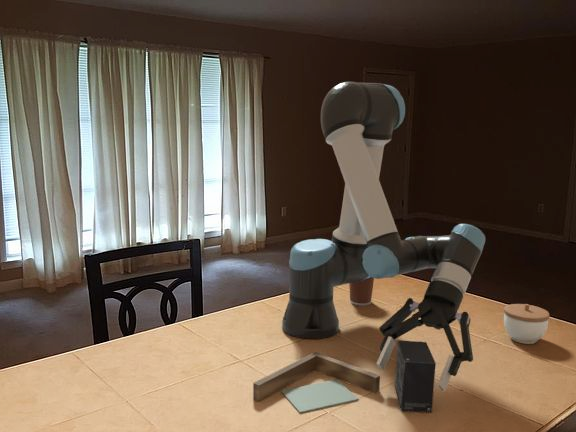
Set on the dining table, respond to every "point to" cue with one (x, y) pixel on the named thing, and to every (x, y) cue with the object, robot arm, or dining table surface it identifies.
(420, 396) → the small box
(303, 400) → the pad
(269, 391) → the walnut corner fence
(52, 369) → the dining table surface
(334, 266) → the robot arm
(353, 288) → the coffee cup
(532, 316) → the lidded jar
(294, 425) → the dining table surface
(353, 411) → the dining table surface
